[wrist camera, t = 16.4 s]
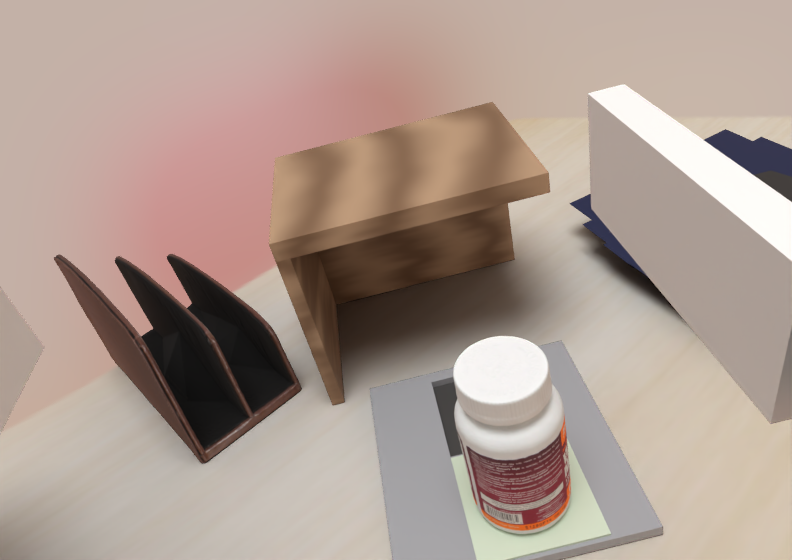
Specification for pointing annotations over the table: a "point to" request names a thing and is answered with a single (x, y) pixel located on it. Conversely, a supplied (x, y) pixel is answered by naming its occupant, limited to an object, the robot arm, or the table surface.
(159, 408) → the letter holder
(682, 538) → the table surface
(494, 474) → the pill bottle
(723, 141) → the navy blue folder
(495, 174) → the cubby
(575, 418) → the board
